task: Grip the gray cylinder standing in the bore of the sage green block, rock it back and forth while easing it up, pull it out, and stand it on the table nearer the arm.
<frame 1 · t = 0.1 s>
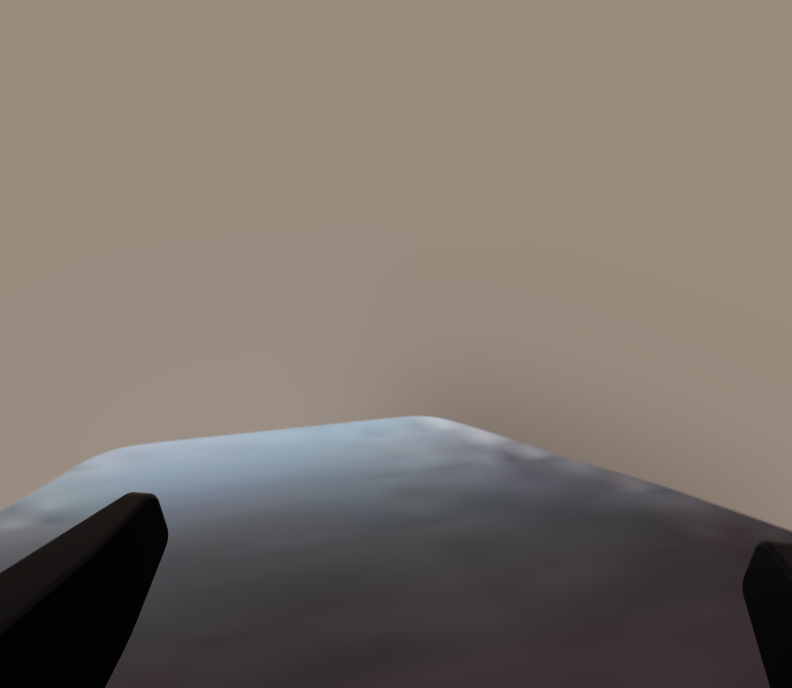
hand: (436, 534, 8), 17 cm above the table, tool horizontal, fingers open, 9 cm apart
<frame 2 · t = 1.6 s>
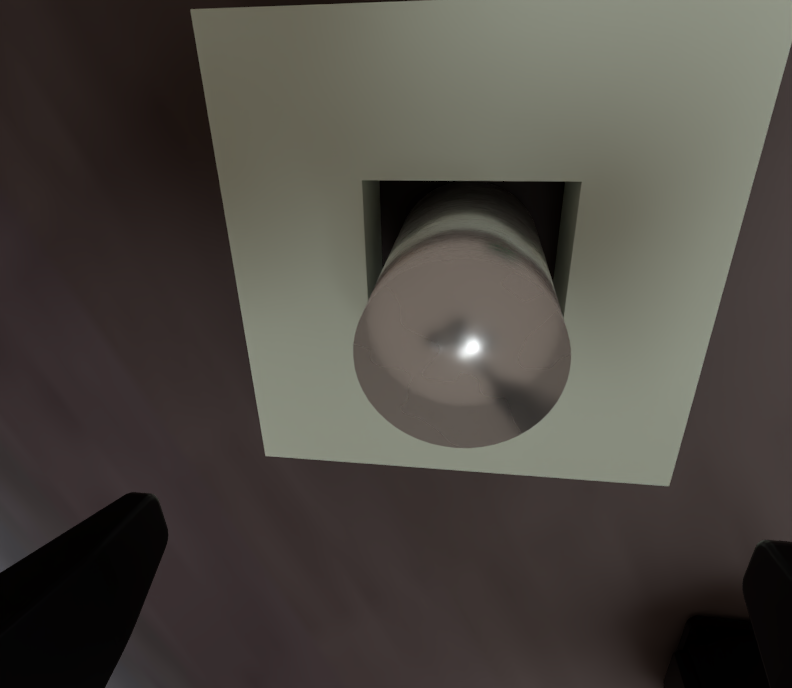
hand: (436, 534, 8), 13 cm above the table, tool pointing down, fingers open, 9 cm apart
gray cylinder: (464, 295, 16), in the bore block
bore block: (467, 252, 20), on the table
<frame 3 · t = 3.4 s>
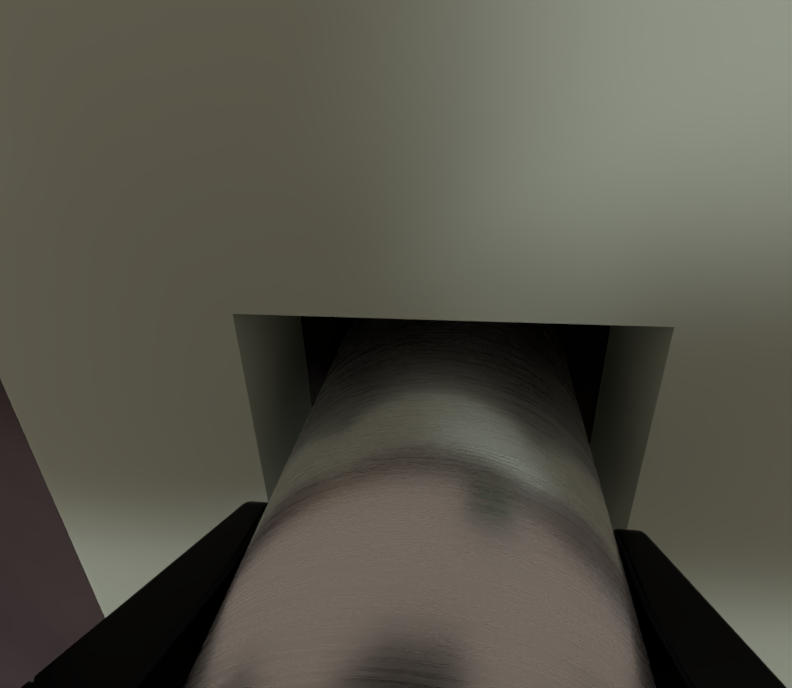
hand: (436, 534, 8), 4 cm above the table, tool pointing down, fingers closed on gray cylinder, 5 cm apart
gray cylinder: (436, 531, 8), in the bore block, touching gripper
bore block: (448, 388, 12), on the table
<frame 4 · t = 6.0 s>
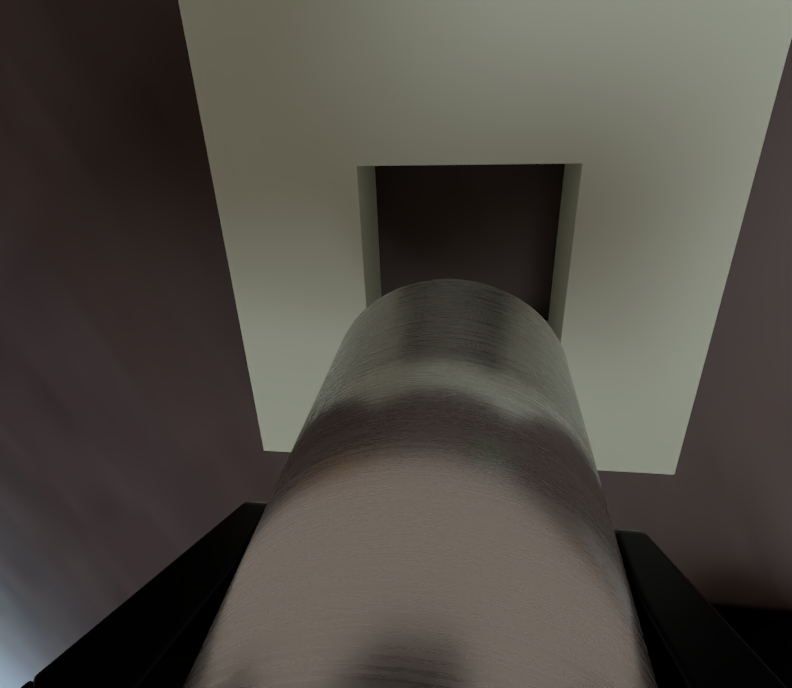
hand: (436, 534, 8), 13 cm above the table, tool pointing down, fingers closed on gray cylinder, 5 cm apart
gray cylinder: (436, 530, 8), point 13 cm above the table, touching gripper
bore block: (465, 239, 19), on the table
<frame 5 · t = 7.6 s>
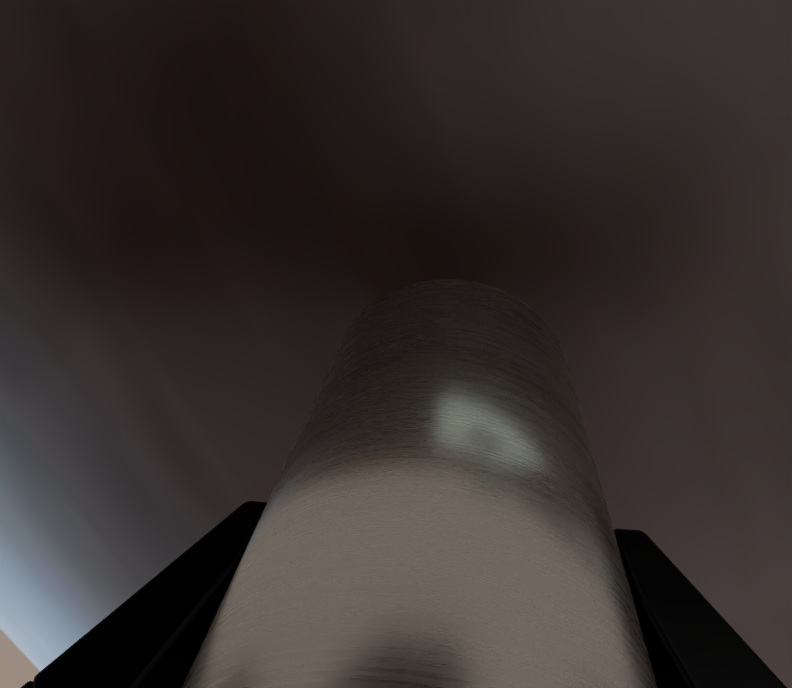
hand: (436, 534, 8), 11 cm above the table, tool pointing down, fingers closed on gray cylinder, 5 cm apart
gray cylinder: (436, 530, 8), point 11 cm above the table, touching gripper
when the fingers open (5 cm above the table, at t = 8.8 s): gray cylinder drops 1 cm, on the table.
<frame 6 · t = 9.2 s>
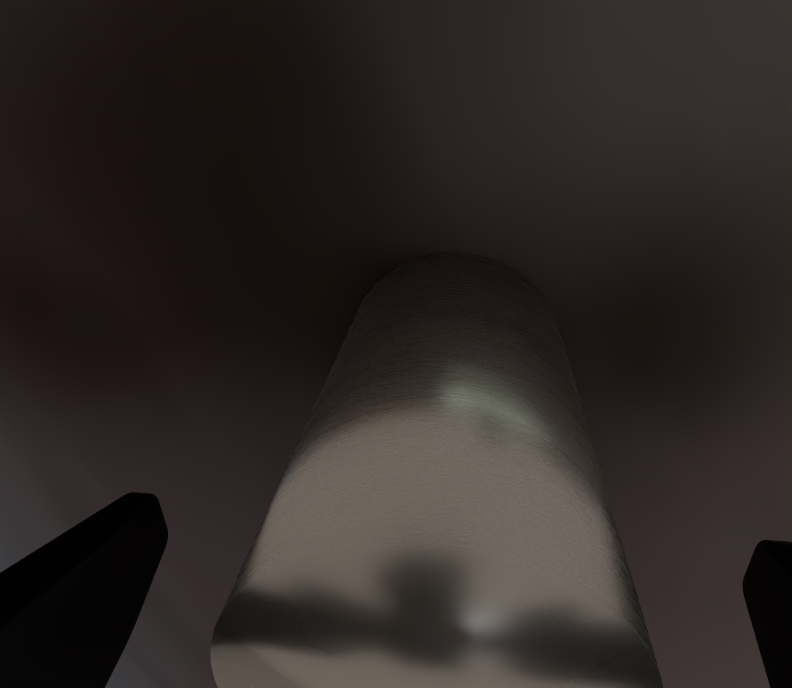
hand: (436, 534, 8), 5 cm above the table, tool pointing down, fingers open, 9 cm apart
gray cylinder: (444, 465, 10), on the table
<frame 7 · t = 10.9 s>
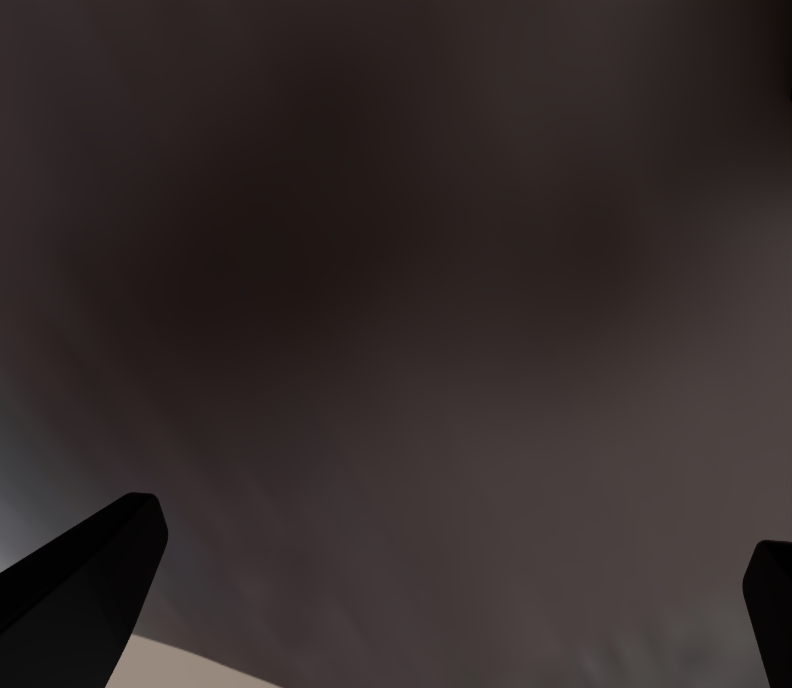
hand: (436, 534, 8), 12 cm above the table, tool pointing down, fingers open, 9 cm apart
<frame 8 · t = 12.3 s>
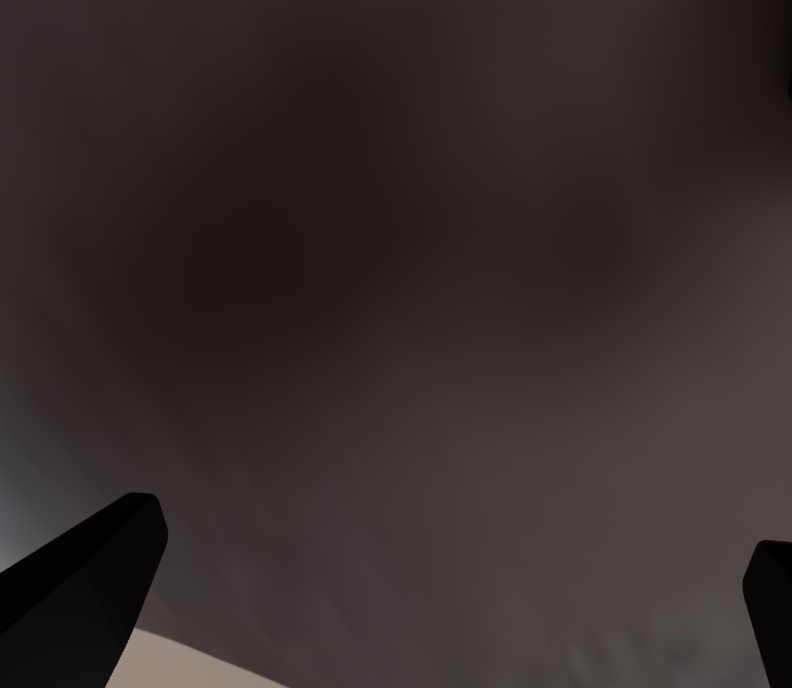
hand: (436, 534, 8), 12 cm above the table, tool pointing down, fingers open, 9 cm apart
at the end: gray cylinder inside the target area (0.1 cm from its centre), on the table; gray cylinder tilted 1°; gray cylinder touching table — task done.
